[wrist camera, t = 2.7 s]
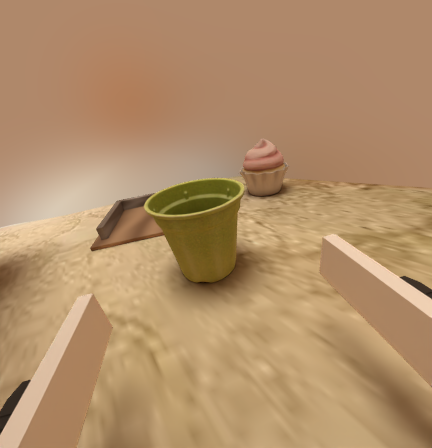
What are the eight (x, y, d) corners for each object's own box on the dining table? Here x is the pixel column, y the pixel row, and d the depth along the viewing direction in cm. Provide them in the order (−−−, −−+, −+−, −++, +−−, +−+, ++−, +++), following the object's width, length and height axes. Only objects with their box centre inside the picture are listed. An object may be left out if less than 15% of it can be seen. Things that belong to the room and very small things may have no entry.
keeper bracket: (91, 250, 31) (84, 236, 30) (117, 210, 45) (113, 200, 44) (197, 227, 32) (194, 212, 31) (190, 195, 46) (187, 185, 45)
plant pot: (269, 262, 22) (266, 184, 18) (198, 316, 18) (173, 227, 14) (216, 235, 29) (205, 174, 25) (154, 268, 24) (129, 200, 21)
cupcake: (235, 199, 40) (228, 145, 36) (248, 184, 47) (244, 137, 43) (285, 200, 36) (285, 139, 32) (291, 183, 44) (292, 131, 39)
